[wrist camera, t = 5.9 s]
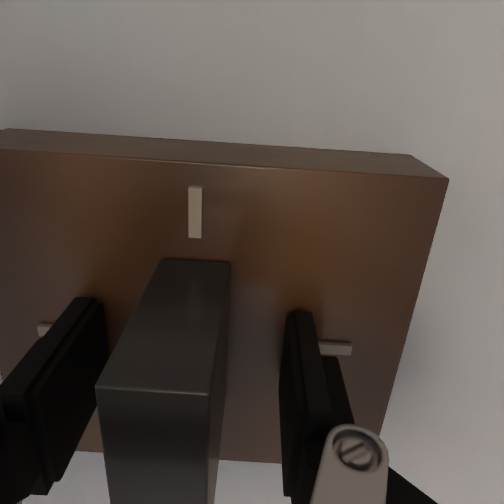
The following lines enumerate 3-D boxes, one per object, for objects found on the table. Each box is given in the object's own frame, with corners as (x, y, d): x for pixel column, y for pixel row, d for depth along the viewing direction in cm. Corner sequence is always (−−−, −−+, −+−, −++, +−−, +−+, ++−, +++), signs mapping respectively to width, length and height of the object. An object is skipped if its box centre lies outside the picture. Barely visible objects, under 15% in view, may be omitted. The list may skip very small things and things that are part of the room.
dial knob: (160, 257, 11) (86, 396, 7) (231, 262, 11) (208, 404, 7) (166, 402, 14) (114, 582, 9) (224, 406, 14) (204, 588, 9)
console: (57, 388, 18) (17, 451, 15) (7, 127, 13) (-65, 146, 10) (354, 407, 18) (371, 473, 15) (411, 154, 13) (453, 179, 10)
